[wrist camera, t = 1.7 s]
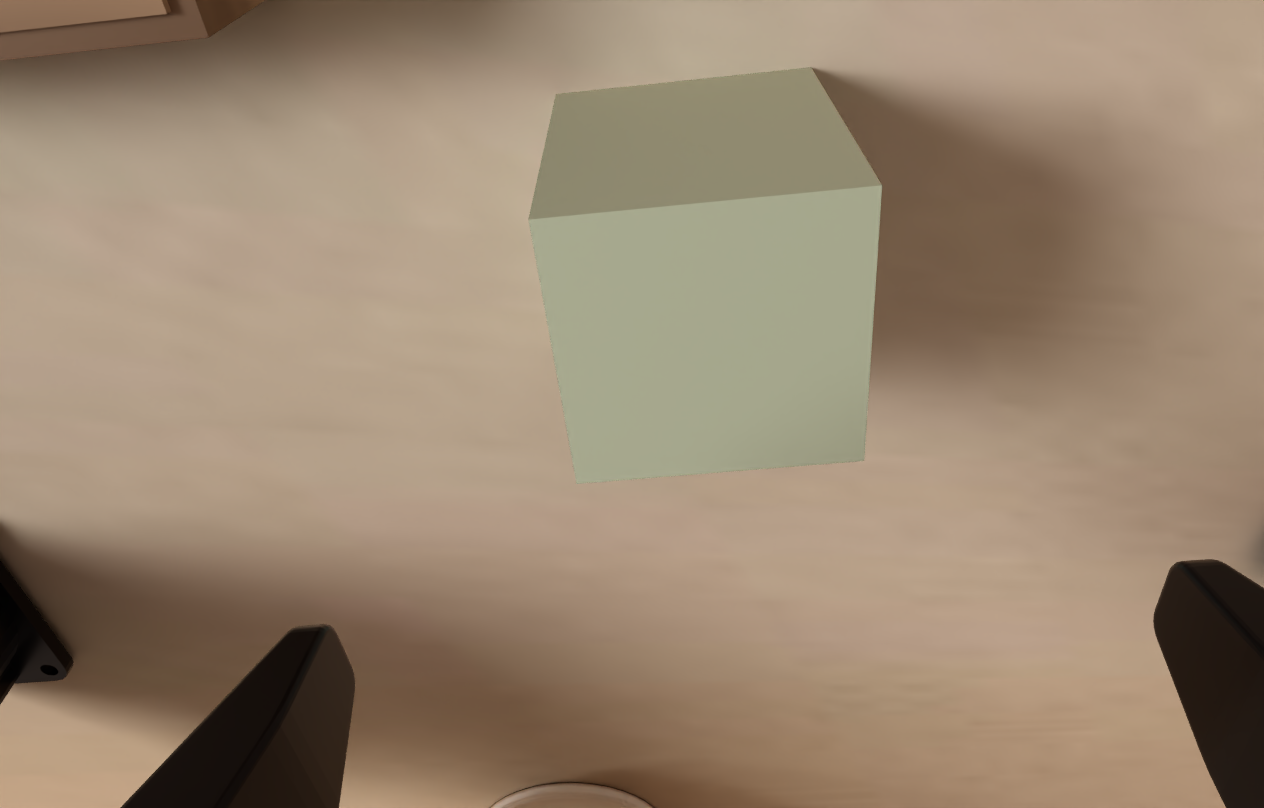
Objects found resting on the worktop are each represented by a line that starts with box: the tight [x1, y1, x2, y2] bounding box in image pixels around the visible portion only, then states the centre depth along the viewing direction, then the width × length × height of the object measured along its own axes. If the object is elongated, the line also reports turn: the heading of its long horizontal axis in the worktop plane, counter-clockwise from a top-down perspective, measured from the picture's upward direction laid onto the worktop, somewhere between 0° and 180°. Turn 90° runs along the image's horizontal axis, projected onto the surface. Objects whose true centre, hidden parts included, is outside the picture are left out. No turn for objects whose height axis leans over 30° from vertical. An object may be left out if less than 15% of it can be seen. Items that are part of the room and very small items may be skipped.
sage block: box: [529, 67, 882, 484], centre depth 16 cm, size 5×5×6 cm
